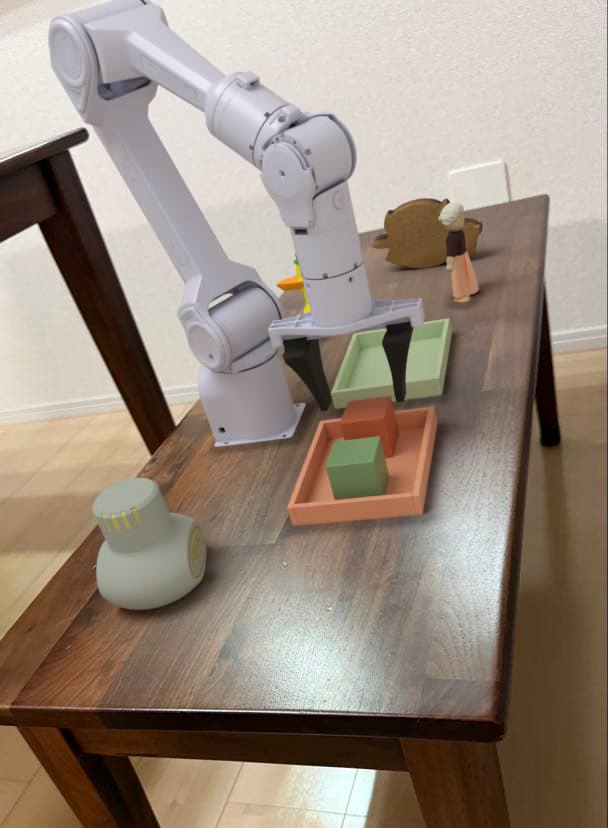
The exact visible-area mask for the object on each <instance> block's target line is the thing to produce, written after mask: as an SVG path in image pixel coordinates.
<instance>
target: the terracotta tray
mask: <svg viewBox="0 0 608 828" xmlns="http://www.w3.org/2000/svg"><path fill="white" fill-rule="evenodd" d="M394 413H395V417H396V422H397V427H398V431H399V436H398V440H397V444H396V447H395V451H394V455H393V457H389V458H385V460H386V464H387V468H388V473H389V479H388V484H387V488H386V492H385V495H382V496H372V497H362V498H351V499H341V500H335V499H334V496H333V492H332V489H331V485H330V481H329V478H328V474H327V471H326V464H327V461H328V458H329V455H330V452H331V449H332V447H333V444H334V442H336V441H344V437H343V433H342V429H341V426H340V421H341V419H342V417H340V418H332V419H326V420H325V419H324V420H320V421H319V423H318V425H317V428H316V431H315V433H314V436H313V439H312V440H311V441H312V442H311V444H310V447H309V449H308V452H307V455H306V457H305V459H304V462H303V465H302V467H301V469H300V473H299V476H298V478H297V480H296V483H295V485H294V488H293V490H292V494H291V496H290V499H289V502H288V504H287V507H286V510H287V513H288V517H289V520H290V522H291V526H292V527H297V526H309V525H318V524H319V525H321V524H331V523H332V524H333V523H343V522H353V521H365V520H377V519H387V518H397V517H410V516H421V515H423V514H424V509H425V503H426V496H427V491H428V485H429V477H430V471H431V467H432V466H431V465H432V459H433V453H434V447H435V440H436V434H437V428H438V420H437V414H436V409H435V406H434V405H433V406H432V405H431V406H427V407H425V406H424V407H417V408H410V409H402V410H394Z"/></svg>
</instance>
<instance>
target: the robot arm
mask: <svg viewBox="0 0 608 828" xmlns="http://www.w3.org/2000/svg"><path fill="white" fill-rule="evenodd" d="M48 26H49V27H48V33H47V35H48V36H47V37H48V38H47V39H48V48H49V49H48V50H49V59H50V67H51V69H52V70H53V71H52V72H54V75H55V76H56V77H57V79H58V81H59V83H60V85H61V86H62V88H63V89H64V92H65V93H66V95H67V96H68V98H69V100H70V101H71V103H72V105H73V106H74V108H75V109H76V111H77V113H78V114H79V115H78V116H79V117H80V118H81V120H82V122H84V123H85V124H87V125H90V126H91V127H92V128H93V130H94V132H95V134H96V136H97V137H98V138H99V140H100V142H101V144H102V146H103V148H104V149H105V152H106V153H107V154H108V156H109V158H110V159H111V161H112V163H113V165H114V166H115V168H116V169H117V172H118V173H119V175H120V176H121V177H122V179H123V181H124V183H125V185H126V187H127V188H128V190H129V192H130V193H131V195H132V197H133V198H134V200H135V202H136V203H137V205H138V208H140V210H141V212H142V213H143V215H144V217H145V218H146V220H147V222H148V224H149V225H150V227H151V229H152V231H153V232H154V234H155V236H156V237H157V240H158V241H159V242H160V244H161V246H162V247H163V250H164V251H165V252H166V254H167V256H168V258H169V259H170V261H171V263H172V264H173V266H174V269H176V271H177V273H178V275H179V276H180V278H181V279H182V281H183V283H184V285H185V287H184V290H183V294H182V296H181V299H180V302H179V305H178V308H177V312H176V316H177V318H178V320H179V321H180V324H181V325H182V328H183V330H184V332H185V336H186V340H187V343H188V347H189V349H190V351H191V353H192V354H193V356H194V357H195V359H196V360H197V361H198V362H199V363H200V364H201V366H200V368H199V369H198V373H197V389H198V390H197V391H198V395H199V398H200V403H201V405H202V408H203V410H204V412H205V416H206V420H207V421H208V424H209V427H210V430H211V432H212V435H213V437H214V441H215V443H214V444H213V446H214V448H218V447H224V446H225V447H226V446H233V445H234V446H235V445H242V444H251V443H257V442H266V441H273V440H282V439H290V438H292V437H293V436H294V434H295V433H296V429H297V427H298V424H299V422H300V420H301V417H302V415H303V413H304V411H305V408H306V405H307V404H306V403H305V402H300V403H294V401H293V397H292V393H291V390H290V387H289V383H288V380H287V377H286V376H287V375H286V373H285V368H284V366H283V362H282V359H283V361H284V363H285V365H286V366H288V367H289V368H290V369H291V370H292V371H293V372H294V373H295V374H296V375H297V376H298V377H299V378H300V379H301V381H302V382H303V383H304V385H305V386H306V387H307V390H308V391H310V393H311V395H312V396H313V398H314V400H315V402H316V404H317V406H318V408H319V410H320V411H321V412H327V411H329V409H330V406H331V403H332V396H331V390H330V387H329V384H328V380H327V376H326V373H325V370H324V365H323V358H322V354H321V347H320V340H319V339H324V338H331V337H338V336H344V335H351V334H352V335H353V334H354V333H360V332H366V331H373V330H379V329H387V330H386V333H385V334H384V337H383V340H382V346H383V348H384V351H385V354H386V357H387V360H388V363H389V367H390V371H391V375H392V381H393V388H394V395H395V398H396V401H395V402H396V403H404V402H405V400H404V399H405V396H406V366H407V358H408V351H409V346H410V342H411V337H412V333H413V329H414V327H420V326H423V323H424V322H425V319H426V313H425V309H424V308H425V307H424V303H423V298H422V297H418V298H409V299H408V298H407V299H373V298H372V294H371V288H370V283H369V279H368V274H367V270H366V269H367V268H366V265H365V260H364V255H363V254H364V253H363V250H362V245H361V241H360V240H361V239H360V236H359V231H358V226H357V221H356V217H355V210H354V206H353V201H352V195H351V193H350V187H349V182H348V180H349V179H351V177H353V175H354V172H355V170H356V167H357V161H358V160H357V159H358V156H357V153H358V152H357V147H356V143H355V140H354V138H353V135H352V133H351V132H350V130H349V129H348V126H346V125H345V123H344V122H343V121H342V120H340V119H339V118H338V116H337V115H336V114H334V112H331V111H319V112H317V113H311V112H310V111H308V110H306V111H301V108H300V107H299V106H297V105H295V104H294V103H290V102H288V101H287V100H286V99H284V98H283V97H281V96H280V95H278V94H277V93H275V92H274V91H273V90H271V89H270V88H269V87H268V86H267V87H266V86H265V85H264V84H263V83H261V78H260V76H258V75H257V74H255V73H254V72H253V71H251V70H249V71H246V72H244V71H234V72H231V73H229V74H227V75H225V73H223V72H222V71H221V70H220V69H219V68H217V67H216V66H215V65H214V64H212V63H211V62H210V61H209V60H208V59H206V58H205V57H204V56H203V55H202V54H201V53H200V52H198V51H197V50H196V49H195V48H194V47H192V46H191V45H190V44H189V43H188V42H186V40H184V39H182V37H181V36H179V35H178V34H177V33H176V32H175V31H174V30H172V28H170V26H169V23H168V19H167V16H166V13H165V11H164V9H163V7H161V5H158V4H156V3H155V2H152V0H110V1H106V2H103V3H100V4H99V3H98V4H96V5H93V6H90V7H86V8H82V9H80V10H76V11H73V12H70V13H65V12H64V13H59V14H56V15H55V16H53V18H51V20H50V23H49V25H48ZM159 87H160V88H163V89H165V90H166V91H168V92H170V93H171V94H172V95H174V96H176V97H178V98H179V99H181V100H182V101H184V102H186V103H187V104H189V105H191V106H193V107H194V108H196V109H197V110H199V111H201V112H203V113H204V117H205V124H206V128H207V130H208V132H209V133H210V135H212V136H213V138H215V139H216V140H218V141H219V142H221V143H222V144H223V145H225V146H226V147H227V148H229V149H230V150H231V151H233V152H234V153H235V154H237V155H238V156H240V158H242V159H244V160H245V161H246V162H247V163H249V164H250V165H252V166H253V167H254V168H256V169H257V170H258V171H260V172H259V177H260V180H261V182H262V185H263V187H264V189H265V190H266V192H267V194H268V195H269V196H270V198H271V199H272V200H273V202H274V203H275V204H276V206H277V209H278V211H279V215H280V219H281V222H284V225H285V226H286V227H287V228H289V232H290V235H291V239H292V242H293V243H292V244H293V247H294V250H295V253H296V255H297V259H298V263H299V267H300V271H301V275H302V279H303V283H304V287H305V291H306V295H307V299H308V303H309V307H310V311H311V312H307V313H301V314H297V315H294V316H291V317H290V316H289V317H287V318H286V314H285V309H284V307H283V304H282V301H281V300H280V298H279V297H278V295H277V294H276V293H275V292H274V291H273V290H272V289H271V288H270V287H269V286H268V285H267V284H266V283H265V282H264V280H263V279H262V278H261V277H260V275H259V272H258V271H257V270H256V268H255V267H253V266H249V265H247V264H244V263H240V262H237V261H234V260H231V259H229V257H228V255H227V254H226V252H225V250H224V249H223V246H222V245H221V243H220V241H219V239H218V238H217V236H216V234H215V233H214V231H213V228H212V227H211V225H210V224H209V222H208V221H207V218H206V217H205V215H204V213H203V212H202V210H201V208H200V206H199V204H198V202H197V201H196V199H195V198H194V196H193V194H192V192H191V191H190V189H189V187H188V185H187V184H186V182H185V180H184V178H183V176H182V175H181V173H180V172H179V170H178V168H177V166H176V164H175V162H174V161H173V159H172V158H171V155H170V153H169V152H168V150H167V148H166V147H165V145H164V142H163V141H162V140H161V138H160V136H159V134H158V133H157V130H156V129H155V127H154V126H153V124H152V122H151V120H150V119H149V107H150V104H151V103H152V101H153V100H154V99H155V97H156V96H157V92H158V88H159ZM225 295H230V296H228V297H227V298H225V299H223V300H222V301H219V302H218V303H216V304H214V305H213V306H211V307H210V304H211V303H212V302H214V301H216V300H218V299H219V298H222V297H223V296H225ZM281 347H284V348H283V351H284V352H283V354H282V359H281V356H280V353H279V349H278V348H281Z"/></svg>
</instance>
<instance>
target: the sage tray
mask: <svg viewBox="0 0 608 828" xmlns="http://www.w3.org/2000/svg"><path fill="white" fill-rule="evenodd" d="M451 325H452V324H451V319H450V318H449V317H448V318H441V319H435V320H428V321H424V323H423V326H420V327H414V329H413V333H412V337H411V342H410V346H409V351H408V358H407V366H406V396H405V399H404V401H405V400H414V399H421V398H429V397H437V396H442V395H443V392H444V386H445V378H446V372H447V366H448V360H449V354H450V348H451V342H452V335H453V331H452V326H451ZM386 330H387V329H379V330H373V331H366V332H359V333H352V337H351V338H350V341H349V344H348V347H347V350H346V352H345V355H344V357H343V359H342V362H341V365H340V368H339V370H338V373H337V376H336V378H335V381H334V384H333V386H332V389H331V390H330V395H331V401H332V404H333V407H334V410H339V409H345V408H346V406H347V403H348V401H355V400H363V399H371V398H379V397H387V396H391V399H392V402H396V398H395V395H394V388H393V381H392V375H391V371H390V367H389V363H388V360H387V357H386V354H385V351H384V348H383V346H382V340H383V337H384V334H385V333H386Z"/></svg>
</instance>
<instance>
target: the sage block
mask: <svg viewBox="0 0 608 828" xmlns="http://www.w3.org/2000/svg"><path fill="white" fill-rule="evenodd" d="M326 471H327V474H328V478H329V481H330V485H331V489H332V492H333V496H334V499H335V500H341V499H351V498H362V497H372V496H382V495H385V492H386V488H387V484H388V479H389V473H388V468H387V464H386V460H385V455H384V451H383V447H382V442H381V438H380V436H378V437H369V438H361V439H353V440H344V441H336V442H334V444H333V447H332V449H331V452H330V455H329V458H328V461H327V464H326Z"/></svg>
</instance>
